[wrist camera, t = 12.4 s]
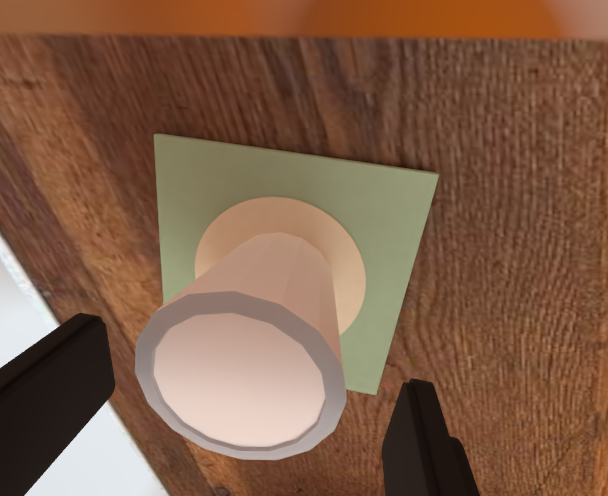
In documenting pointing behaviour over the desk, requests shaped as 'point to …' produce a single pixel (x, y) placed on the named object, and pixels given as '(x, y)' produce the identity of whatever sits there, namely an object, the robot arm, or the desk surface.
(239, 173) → the mat
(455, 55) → the desk surface
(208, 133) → the desk surface
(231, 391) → the shot glass
